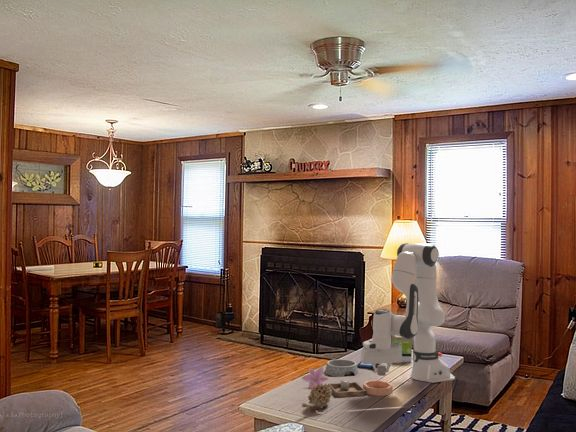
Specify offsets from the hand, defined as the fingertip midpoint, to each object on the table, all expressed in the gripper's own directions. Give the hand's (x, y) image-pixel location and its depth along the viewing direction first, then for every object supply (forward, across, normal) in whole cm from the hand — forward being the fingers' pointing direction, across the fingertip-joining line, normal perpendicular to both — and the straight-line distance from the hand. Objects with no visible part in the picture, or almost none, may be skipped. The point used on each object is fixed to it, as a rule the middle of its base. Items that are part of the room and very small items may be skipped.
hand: (381, 372), depth 252 cm
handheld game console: (+10, -12, -45) cm, 48 cm away
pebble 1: (+9, +17, -5) cm, 20 cm away
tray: (+10, +17, -2) cm, 19 cm away
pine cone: (+10, +37, +17) cm, 42 cm away
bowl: (+10, +2, 0) cm, 10 cm away
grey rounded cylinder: (+1, 0, 0) cm, 1 cm away
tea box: (+9, -34, -55) cm, 66 cm away
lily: (+10, +29, -12) cm, 34 cm away
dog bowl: (+10, +8, -36) cm, 39 cm away
